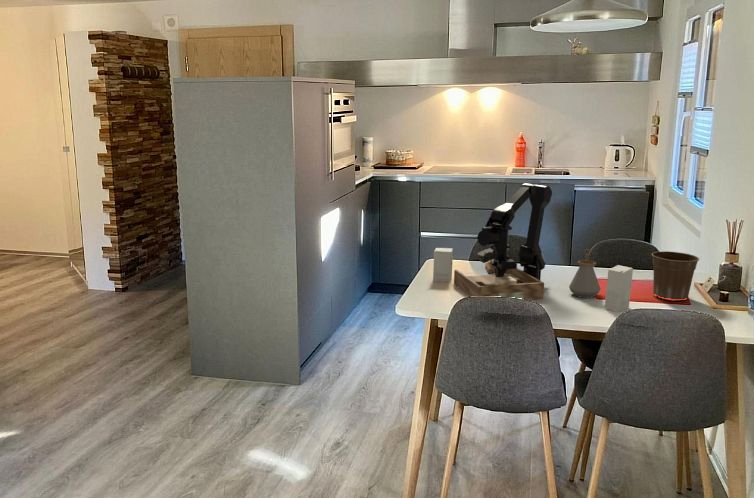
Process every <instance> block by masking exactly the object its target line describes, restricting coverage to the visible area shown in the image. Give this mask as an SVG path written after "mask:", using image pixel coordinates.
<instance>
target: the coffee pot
mask: <svg viewBox="0 0 754 498" xmlns="http://www.w3.org/2000/svg"><path fill="white" fill-rule="evenodd" d="M591 252H592V251H591V250H590V249H589V248H586V249H585V251H584V253H585V255H584V256H585V258H584V260H578V261H577V263H578V266H579V267H578V269H577V271H576V272H575V274H574V276H573V278H572V280H571V282H570V283H569V286H568V287H569V290H570V292H571V293H572V294H573V296H575V297H578V298H584V299H588V298H589V299H591V298H595V296H597V295H598V294H599V293H600V292H601V290H602V289H601V286H600V284H599V280H598V277H597V275H596V272H595V269H594V268H595V266H596V265H597V262H595V261H593V260H592V261H591V260H589V257H590V255H589V253H591Z"/></svg>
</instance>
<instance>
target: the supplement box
mask: <svg viewBox="0 0 754 498" xmlns="http://www.w3.org/2000/svg"><path fill="white" fill-rule="evenodd" d="M453 252H454V248H451V247H450V248H449V247H435V248H434V251H433V268H432V269H433V271H432V272H433V273H432V275H433V276H432V281H433V282H443V283H445V282H447V283H451V281H452V278H453V256H454V255H453Z"/></svg>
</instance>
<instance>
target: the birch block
mask: <svg viewBox="0 0 754 498" xmlns="http://www.w3.org/2000/svg"><path fill="white" fill-rule="evenodd" d="M505 284H517V280H515V279H513V278H512V277H510V276H509V277H495V285H505Z"/></svg>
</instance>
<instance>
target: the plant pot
mask: <svg viewBox="0 0 754 498" xmlns="http://www.w3.org/2000/svg"><path fill="white" fill-rule="evenodd" d="M651 256H652V265H653V280H652V281H653V285H652V286H653V287H652V294H653V293H654V294H656V295H658V296H660V297H664V298H671V299H685V298H689V294H690V290H691V285H692V281H693V278H694V277H693V276H694V273H695V270H696V269H697V265H698V262H699V261H700V258H699V257H698V256H696V255H694V254H690V253H685V252H678V251H669V250H668V251H667V250H666V251H664V250H663V251H653V252H652V253H651Z"/></svg>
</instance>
